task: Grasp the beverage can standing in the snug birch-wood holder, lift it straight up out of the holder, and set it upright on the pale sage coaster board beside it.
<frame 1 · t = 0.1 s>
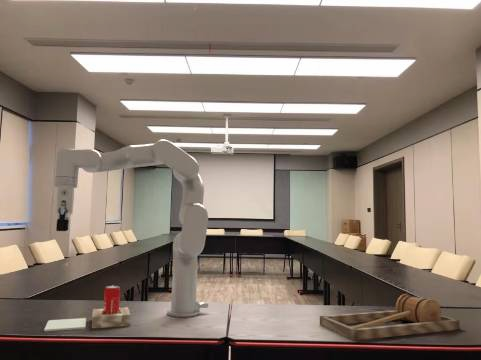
hand: (62, 230, 133), 31 cm above the table, tool pointing down, fingers open, 9 cm apart
beverage can: (110, 323, 130), resting in can holder
coaster board: (66, 325, 125), on the table
mallet: (390, 328, 131), on the table
can holder: (110, 322, 130), on the table
gavel rest frame: (389, 327, 132), on the table
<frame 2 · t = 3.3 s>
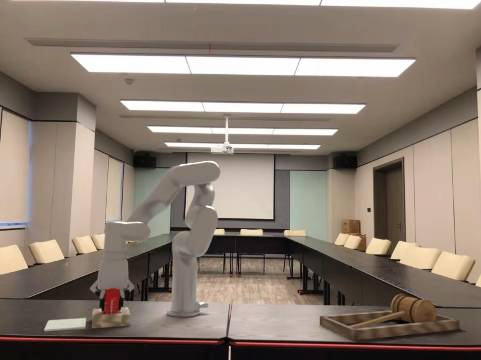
hand: (111, 309, 130), 4 cm above the table, tool pointing down, fingers closed on beverage can, 5 cm apart
beverage can: (110, 322, 130), resting in can holder, touching gripper
mallet: (384, 329, 131), on the table
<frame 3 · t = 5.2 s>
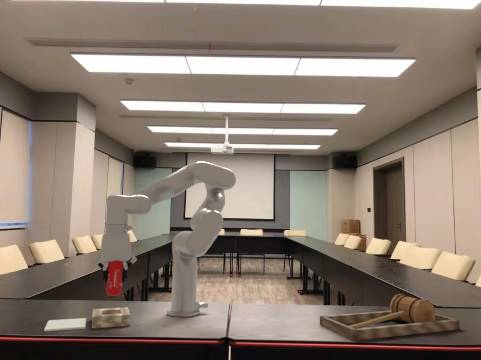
hand: (114, 280, 132), 14 cm above the table, tool pointing down, fingers closed on beverage can, 5 cm apart
beverage can: (113, 294, 131), point 9 cm above the table, touching gripper
everything else where it was.
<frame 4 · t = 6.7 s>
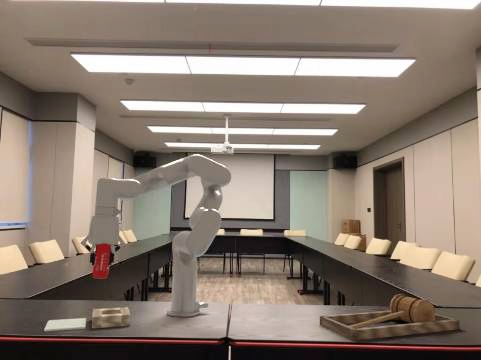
hand: (101, 264, 130), 20 cm above the table, tool pointing down, fingers closed on beverage can, 5 cm apart
beverage can: (99, 278, 130), point 15 cm above the table, touching gripper
everything else where it was.
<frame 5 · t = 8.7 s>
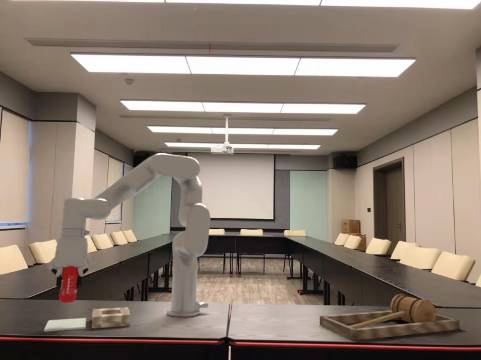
hand: (68, 287, 126), 12 cm above the table, tool pointing down, fingers closed on beverage can, 5 cm apart
beverage can: (66, 302, 125), point 8 cm above the table, touching gripper
everything else where it was.
when the fingers open (6 cm above the table, at t = 10.2 s): beverage can drops 1 cm, resting on coaster board.
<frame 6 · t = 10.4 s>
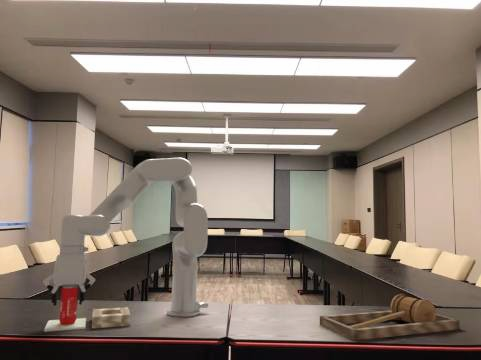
hand: (67, 304, 125), 7 cm above the table, tool pointing down, fingers open, 7 cm apart
beverage can: (67, 323, 125), resting on coaster board
everything else where it was.
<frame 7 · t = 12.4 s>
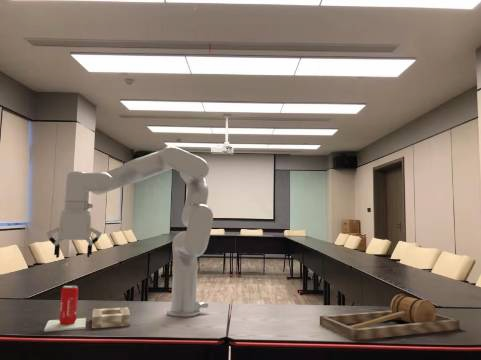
hand: (73, 257, 128), 22 cm above the table, tool pointing down, fingers open, 9 cm apart
nothing on the table moved.
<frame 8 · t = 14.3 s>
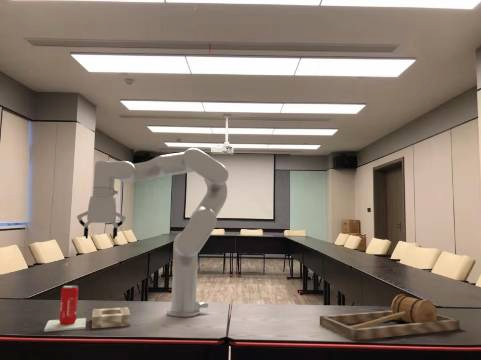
hand: (100, 238, 141), 28 cm above the table, tool pointing down, fingers open, 9 cm apart
at the end: beverage can inside the target area on the coaster board (0.3 cm from its centre), point 0.4 cm above the coaster board's base; beverage can tilted 0°; the gripper is holding nothing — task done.
